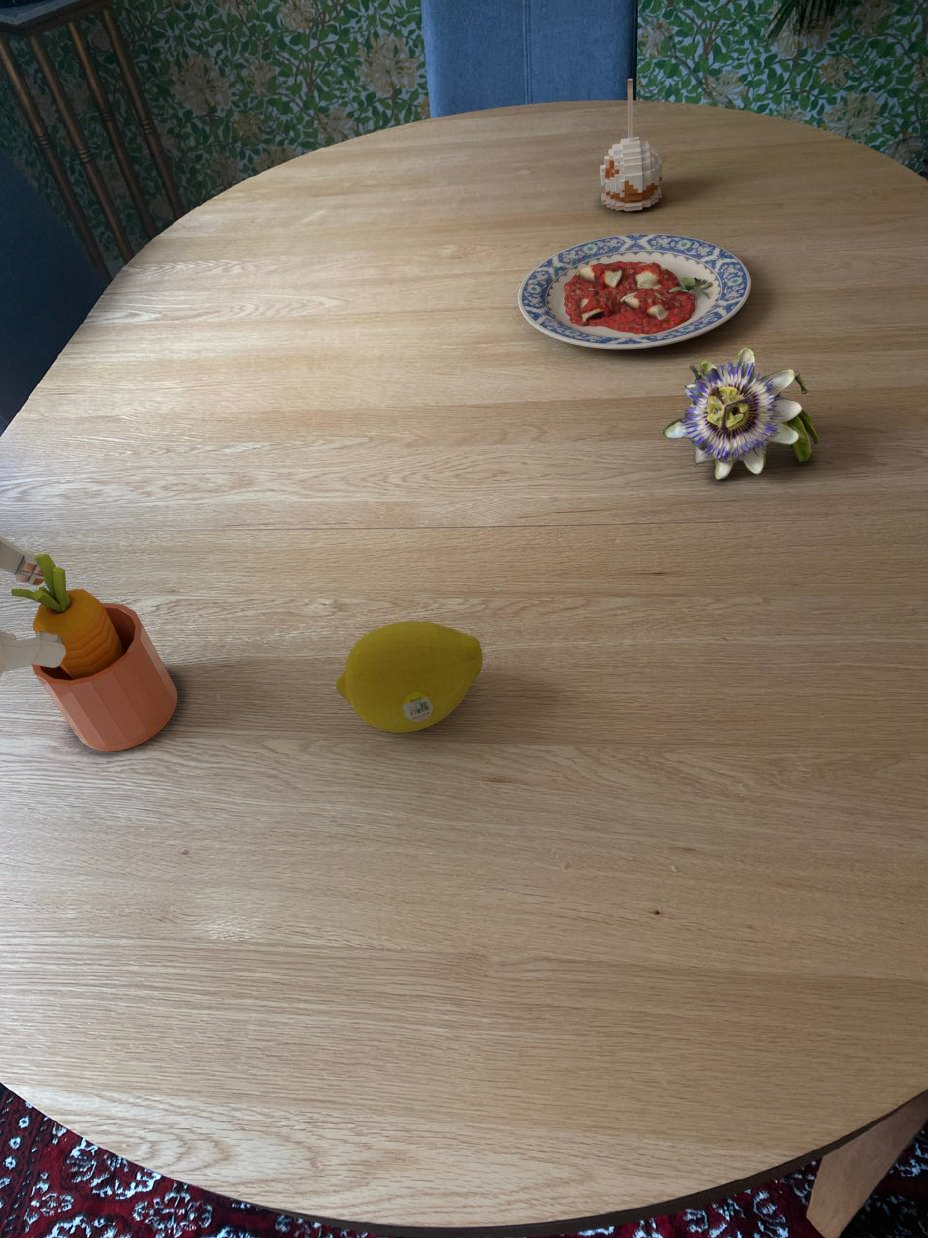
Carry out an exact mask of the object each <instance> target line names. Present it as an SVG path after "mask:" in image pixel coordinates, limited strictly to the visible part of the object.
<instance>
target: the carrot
mask: <svg viewBox="0 0 928 1238" xmlns="http://www.w3.org/2000/svg"><path fill="white" fill-rule="evenodd" d="M37 555H38V556H37V557H35V558H34V559H35V560H36V562H37V564H38V565H39V567H40V569H41V570H42V572H43V573H44V575H45V576H44V578H43V580H44V581H43V583H44V584H45V586H43V585H42V586H40V587H38V588H37V589H35V590H31V589H27V588H12V589H11V592H10V594H11V596H12V597H20V598H26V599H28V600H32V601H34V602H37V603H39V606H38V608H37V610H36V613H35V616H34V620H33V621H32V629H33V631H34V633H35V635H36V636H37V634H38V632H39V631H43V632H48V633H50V634H52V635H54V634H57V635H60V636H61V637H62V638H63V641H64V645H65V650H66V654H65V656H64V658H63V660H62V662H61V664H60V665H59V666H60V667H61V668H62V669H63V670H64V672H65V673H66V674H67V675H68V676H69V677H70V678H71V679H73V680H75V679H80V678H86V677H90V676H92V675H94V674H97V673H99V672H101V671H103V670H105V669H107V668H109V667H110V666H112V665H113V664H114V663H115V662H116V661H117V660H119V659H120V658H121V657H122V656H123V655H124V651H123V648H122V644H121V641H120V639H119V637H118V635H117V632H116V630H115V628H114V626H113V624H112V622H111V620H110V618H109V616H108V614H107V612H106V610H105V608H104V606H103V605H102V603H103V602H102V601H100V600H99V599H98V598H96V597H95V596H94V595H93V594H91V593H90V592H88V591H87V590H85V589H84V588H74V589H67V578H66V576H67V575H66V569H65V568H63V567H60V566H57V565H56V564H55V562H54V561H53V559H52V557H51V556H50V554H49V553H39V554H37Z"/></svg>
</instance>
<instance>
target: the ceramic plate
mask: <svg viewBox="0 0 928 1238" xmlns="http://www.w3.org/2000/svg"><path fill="white" fill-rule="evenodd" d="M751 283H752V280H751V275H750V273H749V271H748V268H747V267H746V266H745V264H744V263H743V261H742V260H740V258H738V257H736V256H735V255H734V254H733V253H731V252H730V251H728V250H727V249H725V248H724V247H721V246H718V245H717V244H713V243H711V242H708V241H705V240H702V239H698V238H694V237H689V236H683V235H675V234H668V233H632V234H621V235H620V234H619V235H614V236H606V237H602V238H598V239H594V240H589V241H585V242H581V243H579V244H576V245H574V246H571V247H568V248H566V249H563V250H561V251H558V252H556V253H555V254H552V255H551V256H549V257H547V258H546V259H545V260H543V261H542V262H540V263H539V264H537V265H536V266H535V267H534V268H533V269H531V270H530V271H529V273H528V274H527V275H526V276H525V278H524V279H523V281H522V282H521V284H520V286H519V289H518V293H517V304H518V307H519V310H520V313H521V314H522V316H523V318H524V319H525V320H526V321H527V322H528V323H529V324H530V325H531V326H533V328H535V329H536V330H537V331H539V332H541V333H542V334H544V335H546V336H548V337H551V338H553V339H555V340H558V341H560V342H563V343H566V344H567V343H568V344H571V345H576V346H579V347H586V348H593V349H603V350H604V349H605V350H639V349H647V348H654V347H655V348H656V347H661V346H663V347H664V346H667V345H671V344H675V343H680V342H683V341H688V340H689V339H693V338H696V337H699V336H701V335H703V334H706V333H708V332H709V331H712V330H714V329H715V328H717V327H719V326H721V325H723V324H724V323H726V322H727V321H728V320H730V319H731V318H732V317H734V316H735V315H736V314H737V313H738V312H739V311H740V310H741V309H742V308H743V306H744V305H745V303H746V302H747V299H748V298H749V295H750V292H751Z"/></svg>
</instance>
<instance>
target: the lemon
mask: <svg viewBox="0 0 928 1238" xmlns="http://www.w3.org/2000/svg"><path fill="white" fill-rule="evenodd" d="M483 659H484V658H483V651H482V648H481V644H480V641H479V640H478V639H477V638H476V637H475V636H473V635H469V634H467V633H463V632H461V631H458V630H456V629H453V628H452V627H449V626H446V625H443V624H441V623H440V624H439V623H435V622H432V621H420V620H419V621H417V620H415V621H401V622H395V623H390V624H387V625H384V626H383V625H382V626H380V627H378V628H376V629H373V630H371V631H370V632H368V633H366V634H365V635H363V636H362V637H361V638H360V639H359V640H358V641H357V642H355V643H354V645H353V646H352V648H351V649H350V651H349V652H348V656H347V658H346V660H345V666H344V671H343V672H342V673H341V675H340V676H339V677H338V678H337V680H336V683H335V688H336V691H337V692H338V695H340V696H341V697H342V698H344V699H345V700H346V701H347V702H348V703H349V704H350V705H351V707H352V710H353V711H354V713H355V715H356V716H358V718H359V719H360V720H361V721H362V722H364V723H365V724H367V725H369V726H370V727H372V728H374V729H377V730H380V731H384V732H389V733H396V734H401V733H413V732H417V731H420V730H424V729H427V728H429V727H431V726H433V725H435V724H438V723H439V722H441V721H443V719H445V718H447V717H448V716H450V714H451V713H452V712H454V711H455V710H456V709H457V707H458V706H459V705H460V704H461V703H462V702H463V700H464V698H465V697H466V695H467V694H468V691H469V689H470V688H471V685H472V684H473V682H474V681H475V679H476V678H477V677H478V675H479V674H480V673H481V671H482V668H483V665H484V663H483V662H484V660H483Z"/></svg>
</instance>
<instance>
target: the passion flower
mask: <svg viewBox="0 0 928 1238" xmlns="http://www.w3.org/2000/svg"><path fill="white" fill-rule="evenodd" d="M755 368H756V357H755V352H754V350H753V349H752V348H750V347H749V345H747V346H745V347H744V348H741V350H740V351H739V352H737V354H736V355H735V357H734V358H733V360H732V361H730V362H727V363H725V364H724V365H722V364H720V366H719V367H717V365H715V364H713V363H712V362H710V361H708V360H704V361H701V362H700V369H699V370H698V369H697V367H695V364H690V365H689V369H690V371H691V372H692V373H693V375H694V377H695V380H694V381H693V382H692V383H690V384H685V385H684V387H683V391H684V394H685V395H686V396H687V398H688V399H689V401H690V402H691V403H690V405H689V406H688V408H687V409H685V410H683V411H682V414H681V417H679V418H677V419H675V420H673V421H672V422H670V423H669V424H667V425H666V426H665V427H664V428H663V431H662V435H663V436H664V437H665V438H667V439H674V440H678V439H684V438H686V439H688V440H690V442H691V444H692V445H693V446H695V449H694V459H693V460H694V464H695V465H697V466H698V465H703V464H705V463H708V462H710V463H712V464H713V465H714V476H715V480H718V481H719V480H723V479H725V478H727V477H728V475H729V474H730V473H731V471H732V469H733V467H734V466H735V464H736V463H737V462H742V463H743V464H744V465H745V467H746V470H748V471H749V472H751V473H752V474H754V475H759V474H761V473H762V471H763V469H764V468H765V465H766V462H767V459H766V458H767V451H768V449H769V446H770V445H772V444H779V445H787V446H788V445H789V447H790V448H791V450H792V451H793V453H794V455H795V457H796V459H797V460H798V462H800V463H801V462H803V463H805V462H807V461H808V460H809V459H810V457H811V454H812V448H811V447H812V446H811V440H810V437H811V438H812V442H813V444H814V445H816V446H818V445H819V443H820V440H819V435H818V433H817V431H816V429H815V426H814V424H813V421H812V417H811V416H810V415H809V414H808V412H806V411H805V410H804V409H803V408H802V405H801V404H800V403H799V402H797V401H796V400H793V399H789V398H785V397H783V396H782V395H781V393H782V392H783V391H784V390H785V389H787V388H788V387H789V386H790V384H792V383H793V382H794V381H796V382H797V384H798V385H799V386H800V390H801V394H802V395H806V394H808V393H809V391H810V390H809V387H808V385H807V384H806V382H805V380H804V379H803V377H802V376H801V373H800V372H799V370H797V369H796V370H794V369H790V368H789V369H784V370H778V371H775V372H773V373H771V374H768V375H764V376H762V377H761V378H760V372H758V373H757V374H756V371H755V370H756V369H755ZM809 436H810V437H809Z"/></svg>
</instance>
